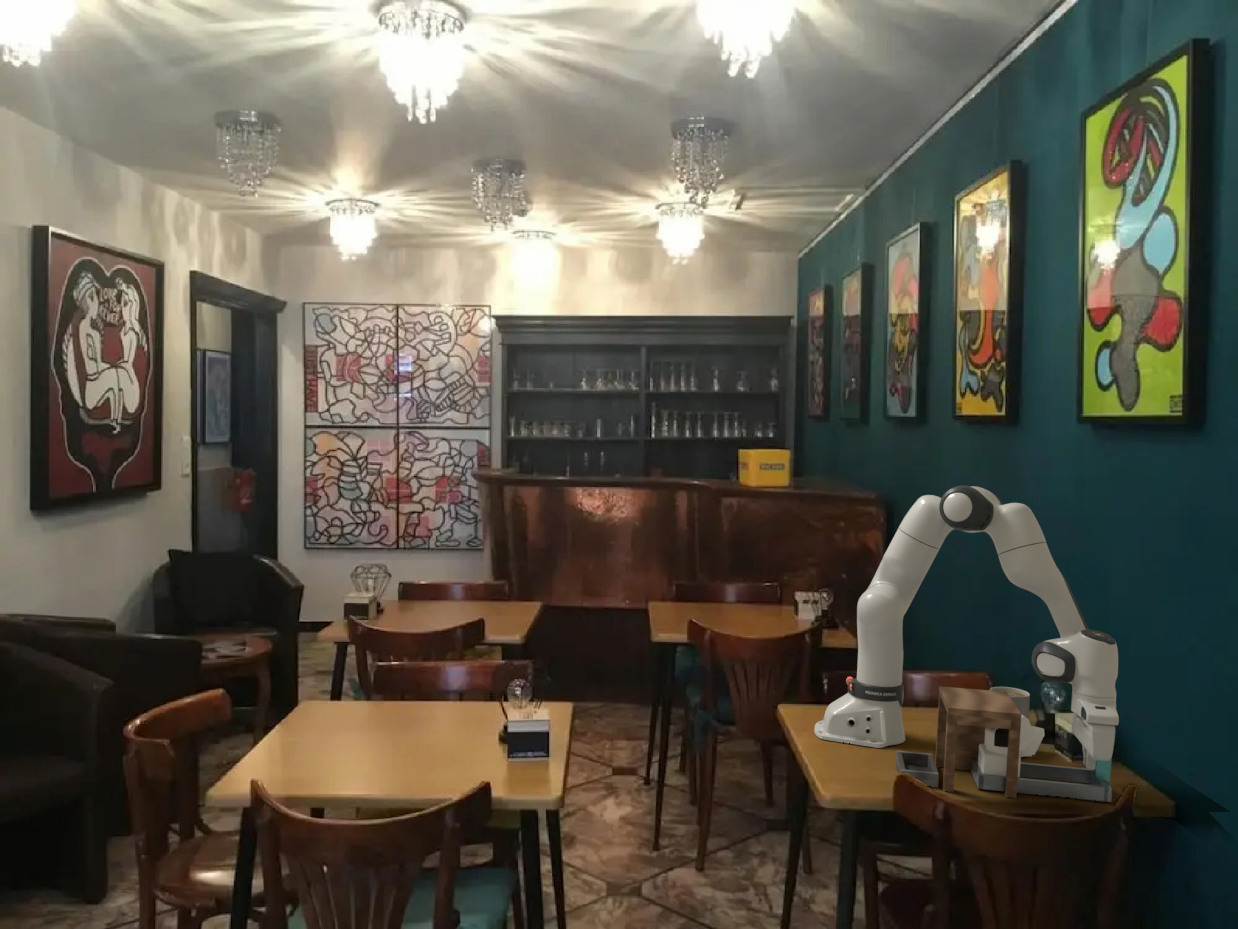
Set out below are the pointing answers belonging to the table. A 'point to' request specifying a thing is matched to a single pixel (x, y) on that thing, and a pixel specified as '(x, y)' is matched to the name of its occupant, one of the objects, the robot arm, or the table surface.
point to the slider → (1095, 791)
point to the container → (995, 752)
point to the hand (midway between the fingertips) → (1089, 767)
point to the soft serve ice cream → (1029, 738)
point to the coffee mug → (1017, 698)
